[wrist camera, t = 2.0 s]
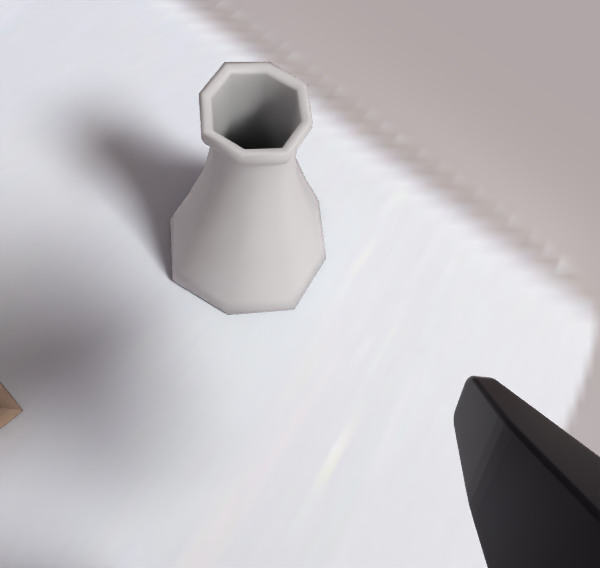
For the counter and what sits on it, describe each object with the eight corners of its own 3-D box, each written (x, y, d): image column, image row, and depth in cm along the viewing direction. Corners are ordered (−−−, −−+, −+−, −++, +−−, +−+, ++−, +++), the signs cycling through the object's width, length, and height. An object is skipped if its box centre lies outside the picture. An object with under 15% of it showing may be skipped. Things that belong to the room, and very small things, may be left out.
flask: (192, 154, 24) (164, -27, 15) (339, 191, 25) (403, 37, 15) (147, 296, 22) (79, 191, 13) (309, 335, 23) (361, 260, 13)
